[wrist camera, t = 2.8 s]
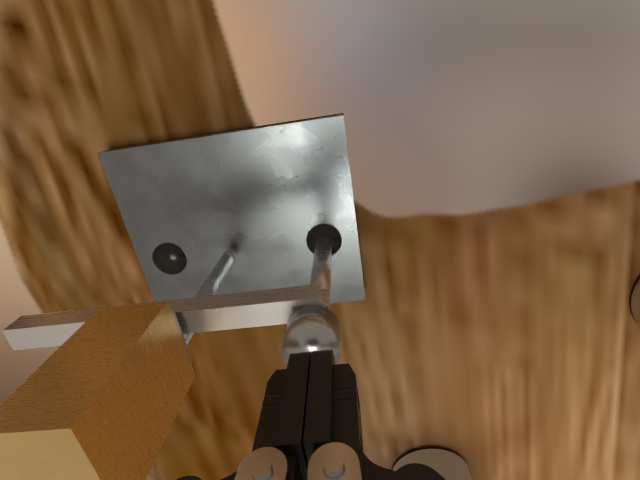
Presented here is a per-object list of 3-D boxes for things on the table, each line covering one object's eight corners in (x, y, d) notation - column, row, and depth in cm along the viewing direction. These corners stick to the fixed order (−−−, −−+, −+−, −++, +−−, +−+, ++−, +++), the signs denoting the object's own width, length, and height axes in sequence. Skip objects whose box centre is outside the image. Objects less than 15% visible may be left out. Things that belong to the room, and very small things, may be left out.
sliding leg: (238, 207, 26) (70, 428, 10) (251, 258, 28) (125, 521, 11) (198, 213, 26) (-32, 435, 10) (212, 263, 28) (35, 525, 12)
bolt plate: (343, 113, 25) (348, 153, 12) (364, 290, 31) (383, 451, 17) (103, 150, 27) (-123, 220, 14) (164, 310, 32) (44, 471, 19)
